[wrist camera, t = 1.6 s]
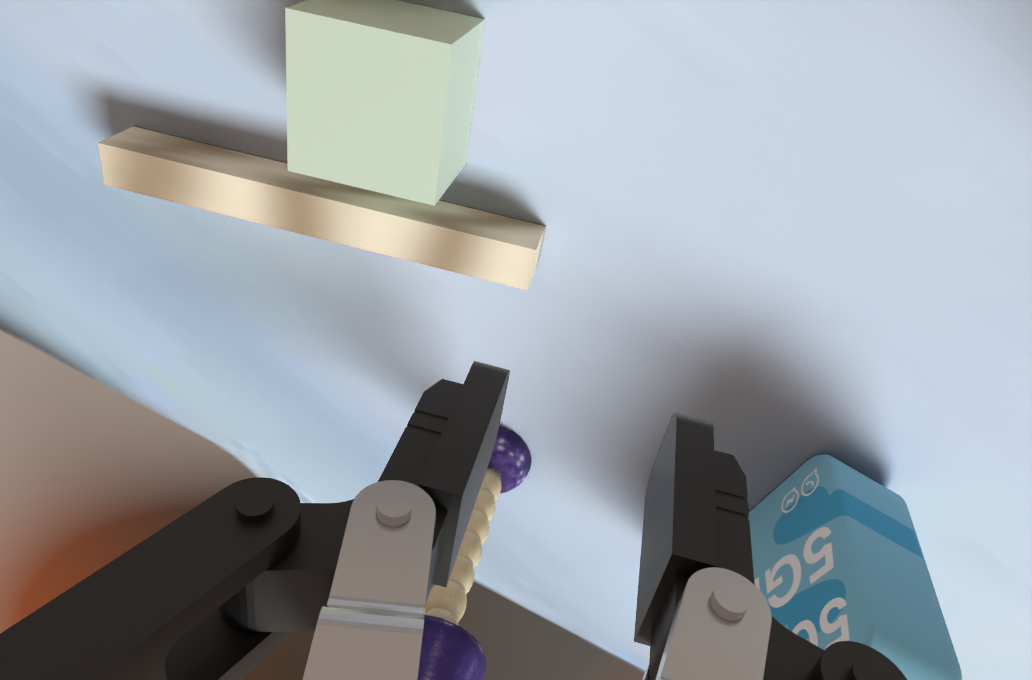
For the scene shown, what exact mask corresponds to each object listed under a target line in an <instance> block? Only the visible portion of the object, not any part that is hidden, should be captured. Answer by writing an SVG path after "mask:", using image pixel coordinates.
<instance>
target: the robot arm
mask: <svg viewBox="0 0 1032 680" xmlns="http://www.w3.org/2000/svg"><path fill="white" fill-rule="evenodd" d="M509 373H510V370H507V369H503V368H499V367H495V366H491V365H488V364H484V363H480V362H476V361H474V362H473V364H472V366H471V369H470V371H469V373H468V375H467V378H466V380H465V382H464V384H459V383H456V382H452V381H448V380H444V379H441V380H440V381H439V382H437V383H436V384H434V385H433V386H432V387H430V388H429V389H427V390H426V391H425V392H424V393H423V395H422V397H421V399H420V401H419V403H418V405H417V407H416V409H415V412H414V413H413V414H412V416H411V418H410V420H409V422H408V425H407V428H405V430H404V432H403V434H402V436H401V438H400V440H399V442H398V444H397V446H396V448H395V450H394V452H393V454H392V455H391V457H390V459H389V461H388V463H387V465H386V467H385V469H384V471H383V473H382V475H381V477H380V479H379V480H378V482H377V483H374V484H371V485H369V486H368V487H366V488H364V489H363V490H362V491H360V493H359V494H358V495H357V496H356V497H355V499H353V500H349V501H346V502H340V503H300V499H299V497H298V495H297V494H296V492H295V491H294V490H293V489H292V488H291V487H290V486H289V485H287V484H285V483H284V482H281V481H278V480H275V479H271V478H249V479H244V480H241V481H238V482H235V483H233V484H231V485H229V486H227V487H226V488H224V489H223V490H221V491H219V492H218V493H216V494H215V495H213V496H212V497H210V498H209V499H207V500H206V501H204V502H203V503H201V504H200V505H198V506H196V507H195V508H193V509H192V510H190V511H189V512H187V513H186V514H184V515H182V516H181V517H179V518H178V519H176V520H175V521H173V522H172V523H170V524H169V525H167V526H166V527H164V528H162V529H161V530H159V531H158V532H156V533H155V534H153V535H152V536H150V537H149V538H147V539H146V540H144V541H143V542H141V543H140V544H138V545H137V546H135V547H133V548H132V549H130V550H129V551H127V552H125V553H124V554H122V555H121V556H119V557H118V558H116V559H115V560H114V561H112V562H110V563H109V564H107V565H105V566H104V567H102V568H101V569H100V570H98V571H96V572H95V573H93V574H92V575H90V576H89V577H87V578H85V579H84V580H82V581H81V582H79V583H78V584H76V585H75V586H74V587H72V588H70V589H69V590H67V591H65V592H64V593H62V594H61V595H60V596H58V597H56V598H55V599H53V600H52V601H50V602H49V603H47V604H46V605H44V606H42V607H41V608H39V609H38V610H36V611H35V612H33V613H32V614H30V615H29V616H27V617H25V618H24V619H22V620H21V621H19V622H18V623H16V624H15V625H13V626H12V627H10V628H8V629H7V630H5V631H4V632H2V633H1V634H0V680H240V679H241V678H242V677H243V676H245V675H246V674H247V673H248V672H249V671H250V670H251V669H252V668H254V667H255V666H256V665H257V664H258V663H259V662H260V661H261V660H262V659H264V658H265V657H266V656H267V655H268V654H269V653H270V652H271V651H273V650H274V649H275V648H276V647H277V646H278V645H279V644H281V642H283V641H284V640H285V639H286V638H287V637H288V636H289V635H290V634H291V633H292V632H293V631H315V633H314V637H313V641H312V645H311V649H310V653H309V657H308V661H307V665H306V669H305V673H304V677H303V680H417V678H418V670H419V661H420V653H421V644H422V636H423V627H424V617H425V615H424V611H425V605H426V602H427V599H428V597H429V594H430V591H431V588H432V585H433V584H435V585H439V586H442V587H447V584H448V581H449V578H450V575H451V572H452V569H453V566H454V563H455V560H456V558H457V555H458V552H459V549H460V546H461V543H462V540H463V537H464V534H465V531H466V528H467V526H468V523H469V520H470V517H471V514H472V511H473V508H474V505H475V502H476V499H477V496H478V494H479V491H480V488H481V485H482V482H483V479H484V476H485V473H486V470H487V467H488V464H489V461H490V459H491V455H492V452H493V449H494V445H495V441H496V437H497V433H498V429H499V424H500V419H501V414H502V409H503V404H504V399H505V394H506V389H507V384H508V379H509ZM748 516H749V510H748V502H747V485H746V476H745V475H744V473H743V471H742V469H741V468H740V466H739V464H738V462H737V461H736V459H735V457H734V456H733V455H730V454H726V453H722V452H718V451H714V437H713V424H712V423H711V422H707V421H703V420H699V419H695V418H691V417H687V416H683V415H680V414H676V413H675V414H674V415H673V416H672V418H671V420H670V423H669V426H668V428H667V431H666V434H665V436H664V439H663V442H662V444H661V447H660V450H659V452H658V455H657V458H656V460H655V463H654V466H653V469H652V471H651V475H650V478H649V482H648V487H647V491H646V498H645V508H644V521H643V534H642V547H641V559H640V572H639V585H638V597H637V610H636V623H635V636H634V642H638V643H641V644H645V645H649V646H650V662H649V666H648V668H647V670H646V672H645V674H644V676H643V679H642V680H907V678H906V677H905V676H904V674H903V673H902V672H901V670H900V669H899V668H898V667H897V666H896V665H895V664H894V663H893V662H892V661H891V660H890V659H889V658H887V657H886V656H885V655H883V654H882V653H880V652H879V651H877V650H875V649H874V648H872V647H869V646H867V645H865V644H862V643H858V642H853V641H840V642H836V643H833V644H831V645H830V646H829V647H827V648H826V650H823V649H821V648H819V647H818V646H816V645H814V644H812V643H811V642H809V641H807V640H805V639H804V638H802V637H800V636H798V635H797V634H795V633H793V632H792V631H790V630H788V629H787V628H785V627H784V626H783V625H782V624H780V623H779V622H778V621H777V620H776V619H775V618H774V617H773V616H772V615H771V610H770V607H769V604H768V602H767V600H766V598H765V597H764V595H763V594H762V593H761V591H760V590H759V589H758V588H757V587H756V586H755V582H754V571H753V559H752V546H751V534H750V522H749V519H748Z"/></svg>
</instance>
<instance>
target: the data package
mask: <svg viewBox="0 0 1032 680" xmlns="http://www.w3.org/2000/svg"><path fill="white" fill-rule="evenodd" d="M748 519H749V522H750V534H751V546H752V559H753V571H754V582H755V586H756V587H757V588H758V589H759V590H760V591H761V593H762V594H763V595H764V597H765V598H766V600H767V602H768V604H769V607H770V610H771V615H772V616H773V617H774V618H775V619H776V620H777V621H778V622H779V623H780V624H782V625H783V626H784V627H785V628H787V629H788V630H790V631H792V632H793V633H795V634H797V635H798V636H800V637H802V638H804V639H805V640H807V641H809V642H811V643H812V644H814V645H816V646H818V647H819V648H821V649H823V650H826V648H827V647H829V646H830V645H831V644H833V643H836V642H840V641H853V642H858V643H862V644H865V645H867V646H869V647H872V648H874V649H875V650H877V651H879V652H880V653H882V654H883V655H885V656H886V657H887V658H889V659H890V660H891V661H892V662H893V663H894V664H895V665H896V666H897V667H898V668H899V669H900V670H901V672H902V673H903V674H904V676H905V677H906V678H907V680H962V674H961V669H960V666H959V662H958V659H957V656H956V653H955V650H954V647H953V644H952V641H951V638H950V635H949V632H948V629H947V626H946V623H945V620H944V617H943V614H942V611H941V608H940V605H939V602H938V599H937V596H936V593H935V590H934V587H933V584H932V581H931V577H930V574H929V571H928V568H927V565H926V562H925V559H924V556H923V553H922V550H921V547H920V544H919V541H918V538H917V535H916V532H915V529H914V526H913V523H912V520H911V517H910V514H909V511H908V508H907V505H906V503H905V501H904V500H903V498H902V497H901V496H899V495H898V494H896V493H894V492H893V491H891V490H889V489H887V488H886V487H884V486H882V485H880V484H879V483H877V482H875V481H874V480H872V479H870V478H868V477H867V476H865V475H863V474H861V473H860V472H858V471H856V470H854V469H853V468H851V467H849V466H848V465H846V464H844V463H842V462H841V461H839V460H837V459H835V458H834V457H832V456H830V455H826V454H821V455H817V456H814V457H812V458H811V459H809V460H808V461H806V462H805V463H804V464H803V465H802V466H801V467H800V468H798V469H797V470H796V471H795V472H794V473H793V474H792V475H791V476H789V477H788V478H787V479H786V480H785V481H784V482H783V483H782V484H780V485H779V486H778V487H777V488H776V489H775V490H774V491H772V492H771V493H770V494H769V495H768V496H767V497H766V498H765V499H763V500H762V501H761V502H760V503H759V504H758V505H757V506H756V507H754V508H753V509H752V510H751V511H750V512H749V516H748Z"/></svg>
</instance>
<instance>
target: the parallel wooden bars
mask: <svg viewBox="0 0 1032 680" xmlns="http://www.w3.org/2000/svg"><path fill="white" fill-rule="evenodd" d="M98 146H99V153H100V159H101V165H102V172H103V178H104V184H105V185H107V186H111V187H115V188H119V189H123V190H127V191H131V192H135V193H139V194H143V195H147V196H151V197H155V198H159V199H163V200H167V201H171V202H176V203H180V204H184V205H188V206H192V207H196V208H200V209H204V210H208V211H212V212H216V213H220V214H224V215H228V216H232V217H236V218H240V219H244V220H248V221H252V222H256V223H260V224H264V225H268V226H272V227H276V228H280V229H284V230H288V231H292V232H296V233H300V234H304V235H308V236H312V237H316V238H320V239H324V240H328V241H332V242H336V243H340V244H344V245H348V246H352V247H356V248H360V249H364V250H368V251H372V252H376V253H380V254H384V255H388V256H392V257H396V258H400V259H404V260H408V261H412V262H416V263H420V264H424V265H428V266H432V267H436V268H440V269H444V270H448V271H452V272H456V273H460V274H464V275H468V276H472V277H476V278H480V279H484V280H488V281H492V282H496V283H500V284H504V285H508V286H512V287H516V288H520V289H524V290H528V288H529V286H530V283H531V281H532V278H533V276H534V273H535V271H536V268H537V265H538V261H539V256H540V251H541V247H542V242H543V237H544V232H545V227H546V226H543V225H539V224H534V223H530V222H526V221H522V220H518V219H514V218H510V217H506V216H501V215H497V214H493V213H489V212H485V211H481V210H477V209H473V208H468V207H464V206H460V205H456V204H452V203H448V202H444V201H440V200H439V201H438V202H437V203H436V205H435V206H433V205H429V204H425V203H421V202H417V201H412V200H408V199H404V198H400V197H396V196H391V195H387V194H383V193H379V192H375V191H370V190H366V189H362V188H358V187H354V186H349V185H345V184H341V183H337V182H333V181H328V180H324V179H320V178H316V177H312V176H307V175H303V174H299V173H295V172H291V171H288V166H287V163H283V162H279V161H274V160H270V159H266V158H262V157H258V156H254V155H250V154H246V153H241V152H237V151H233V150H229V149H225V148H221V147H217V146H213V145H208V144H204V143H200V142H196V141H192V140H188V139H184V138H180V137H175V136H171V135H167V134H163V133H159V132H155V131H151V130H147V129H142V128H138V127H134V126H133V127H131V128H128V129H126V130H124V131H122V132H120V133H118V134H116V135H114V136H111V137H109V138H107V139H105V140H103V141H101V142H99V143H98Z"/></svg>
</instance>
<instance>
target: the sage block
mask: <svg viewBox="0 0 1032 680" xmlns="http://www.w3.org/2000/svg"><path fill="white" fill-rule="evenodd" d="M484 24H485V19H481V18H477V17H472V16H468V15H463V14H458V13H454V12H449V11H445V10H440V9H435V8H431V7H426V6H422V5H417V4H412V3H408V2H403V1H399V0H306V1H303V2H300V3H297V4H295V5H292V6H289V7H286V8H285V29H286V97H287V166H288V171H291V172H295V173H299V174H303V175H307V176H312V177H316V178H320V179H324V180H328V181H333V182H337V183H341V184H345V185H349V186H354V187H358V188H362V189H366V190H370V191H375V192H379V193H383V194H387V195H391V196H396V197H400V198H404V199H408V200H412V201H417V202H421V203H425V204H429V205H433V206H435V205H436V203H437V202H438V201H439V199H440V198H441V197H442V195H443V194H444V193H445V191H446V190H447V189H448V187H449V186H450V185H451V183H452V182H453V181H454V179H455V178H456V177H457V175H458V174H459V173H460V171H461V170H462V169H463V167H464V166H465V165H466V163H467V156H468V148H469V140H470V132H471V125H472V117H473V109H474V101H475V94H476V86H477V78H478V70H479V63H480V55H481V47H482V39H483V32H484Z"/></svg>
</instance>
